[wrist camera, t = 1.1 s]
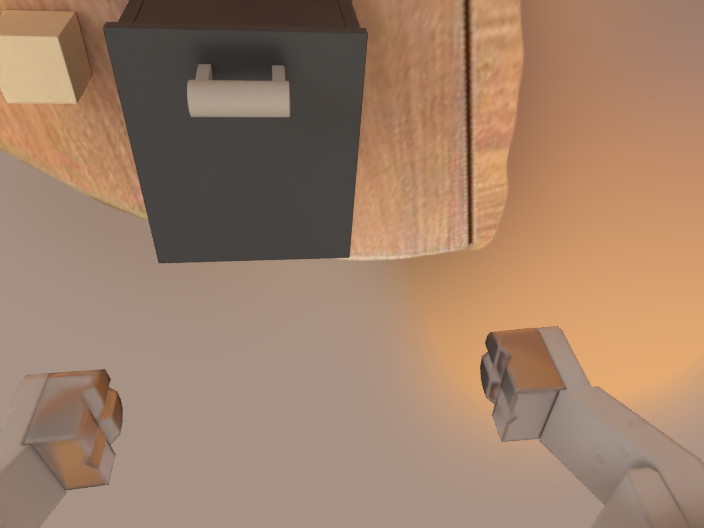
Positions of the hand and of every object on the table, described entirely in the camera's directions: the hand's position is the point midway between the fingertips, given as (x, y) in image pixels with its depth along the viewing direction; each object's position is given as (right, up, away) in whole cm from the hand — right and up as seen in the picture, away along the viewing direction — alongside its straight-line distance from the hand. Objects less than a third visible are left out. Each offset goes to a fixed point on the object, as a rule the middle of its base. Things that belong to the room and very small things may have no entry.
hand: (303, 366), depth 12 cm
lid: (-6, +9, +24) cm, 26 cm away
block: (-20, +18, +27) cm, 38 cm away
